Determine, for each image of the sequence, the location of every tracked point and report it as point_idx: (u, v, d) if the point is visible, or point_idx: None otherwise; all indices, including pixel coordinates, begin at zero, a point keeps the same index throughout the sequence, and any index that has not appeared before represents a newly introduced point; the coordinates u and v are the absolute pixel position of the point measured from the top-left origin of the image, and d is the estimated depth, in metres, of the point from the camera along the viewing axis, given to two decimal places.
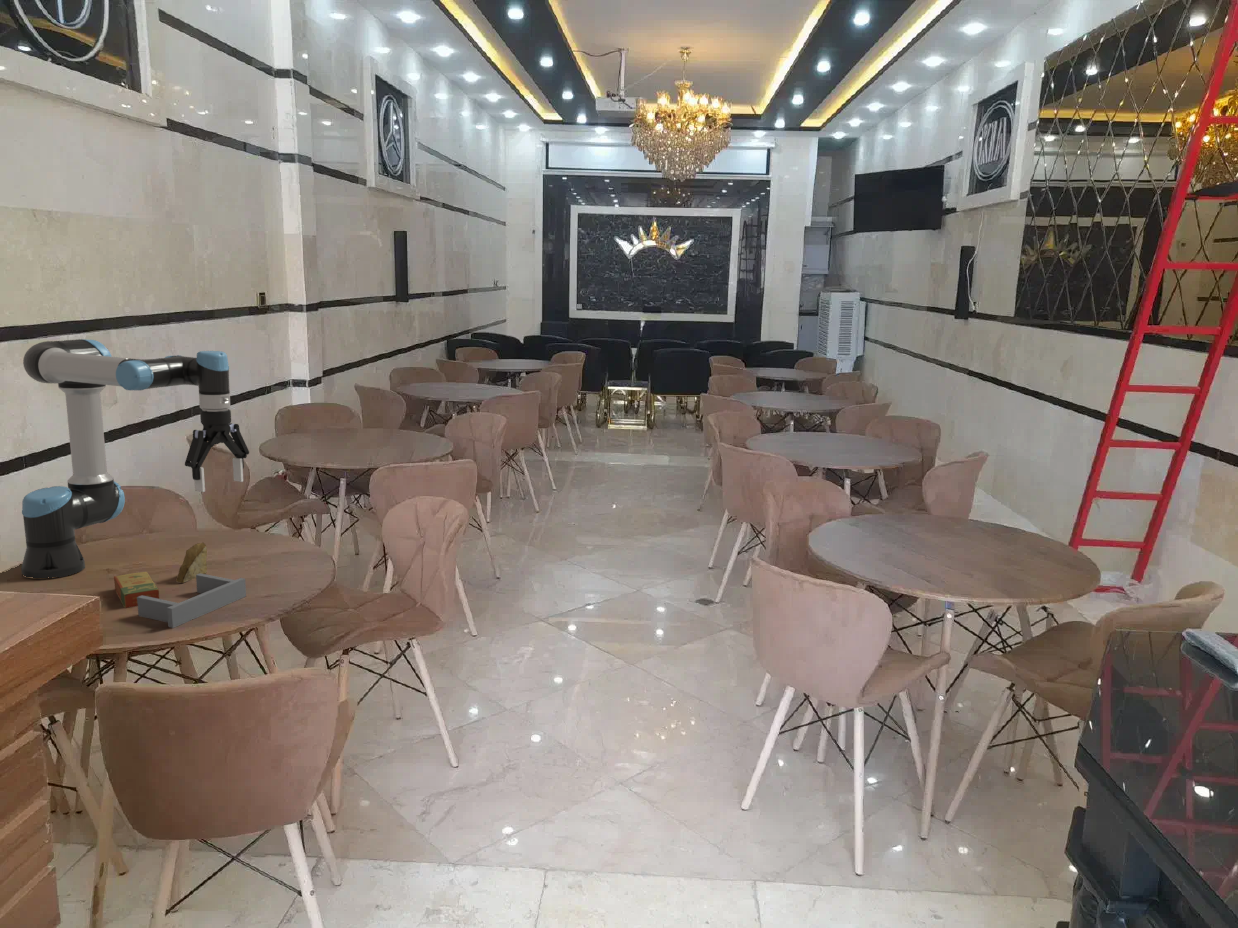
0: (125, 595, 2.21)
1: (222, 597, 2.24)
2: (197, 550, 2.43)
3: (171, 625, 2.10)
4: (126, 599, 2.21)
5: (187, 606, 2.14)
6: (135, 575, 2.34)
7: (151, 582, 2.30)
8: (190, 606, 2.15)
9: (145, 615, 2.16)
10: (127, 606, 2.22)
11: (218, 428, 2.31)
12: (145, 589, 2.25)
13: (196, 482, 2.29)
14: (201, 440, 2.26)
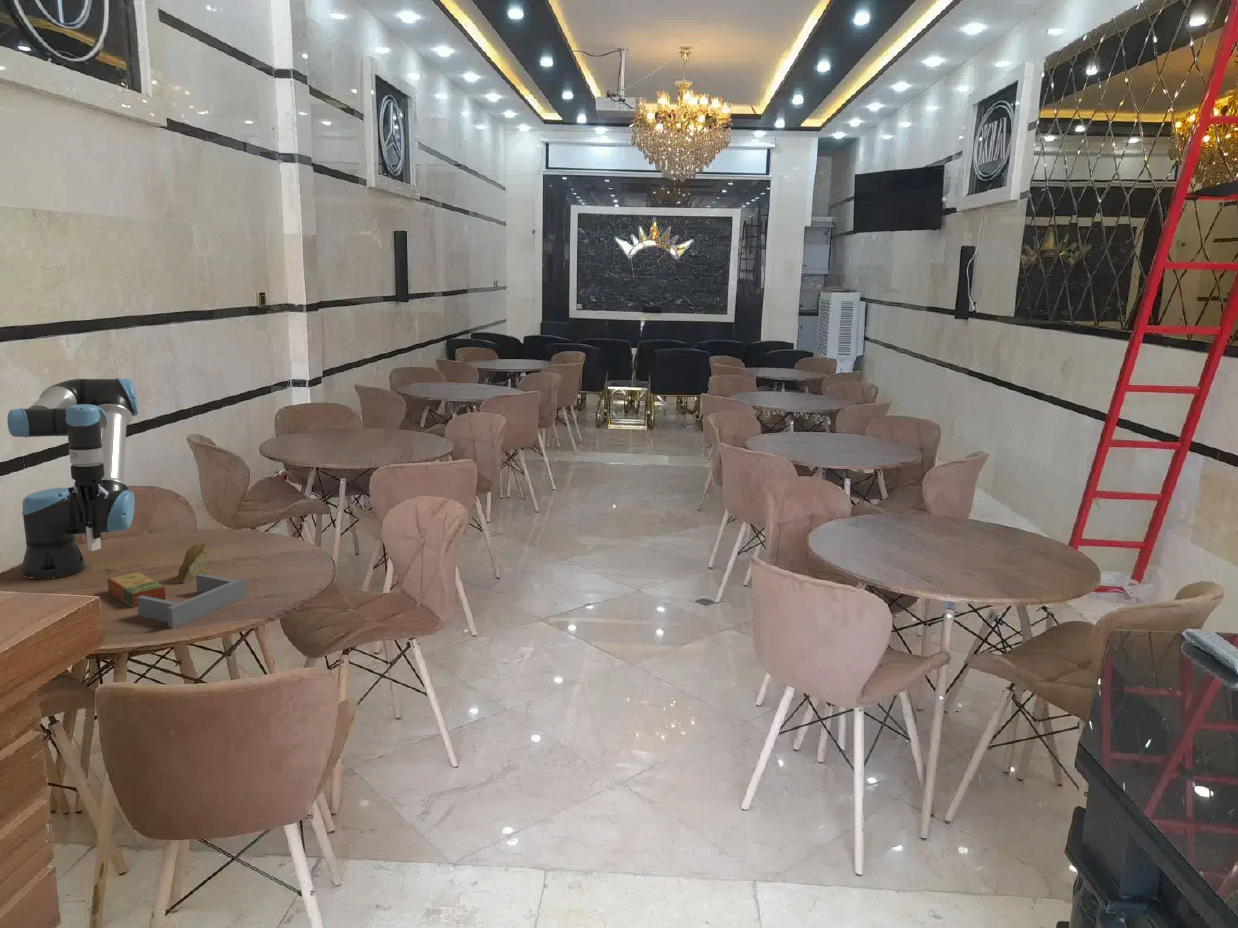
0: (133, 594, 2.22)
1: (222, 597, 2.24)
2: (197, 551, 2.43)
3: (171, 625, 2.10)
4: (135, 598, 2.22)
5: (187, 606, 2.14)
6: (130, 576, 2.33)
7: (152, 581, 2.31)
8: (190, 606, 2.15)
9: (145, 615, 2.16)
10: (136, 605, 2.22)
11: (83, 483, 2.27)
12: (151, 587, 2.26)
13: None
14: (72, 496, 2.29)
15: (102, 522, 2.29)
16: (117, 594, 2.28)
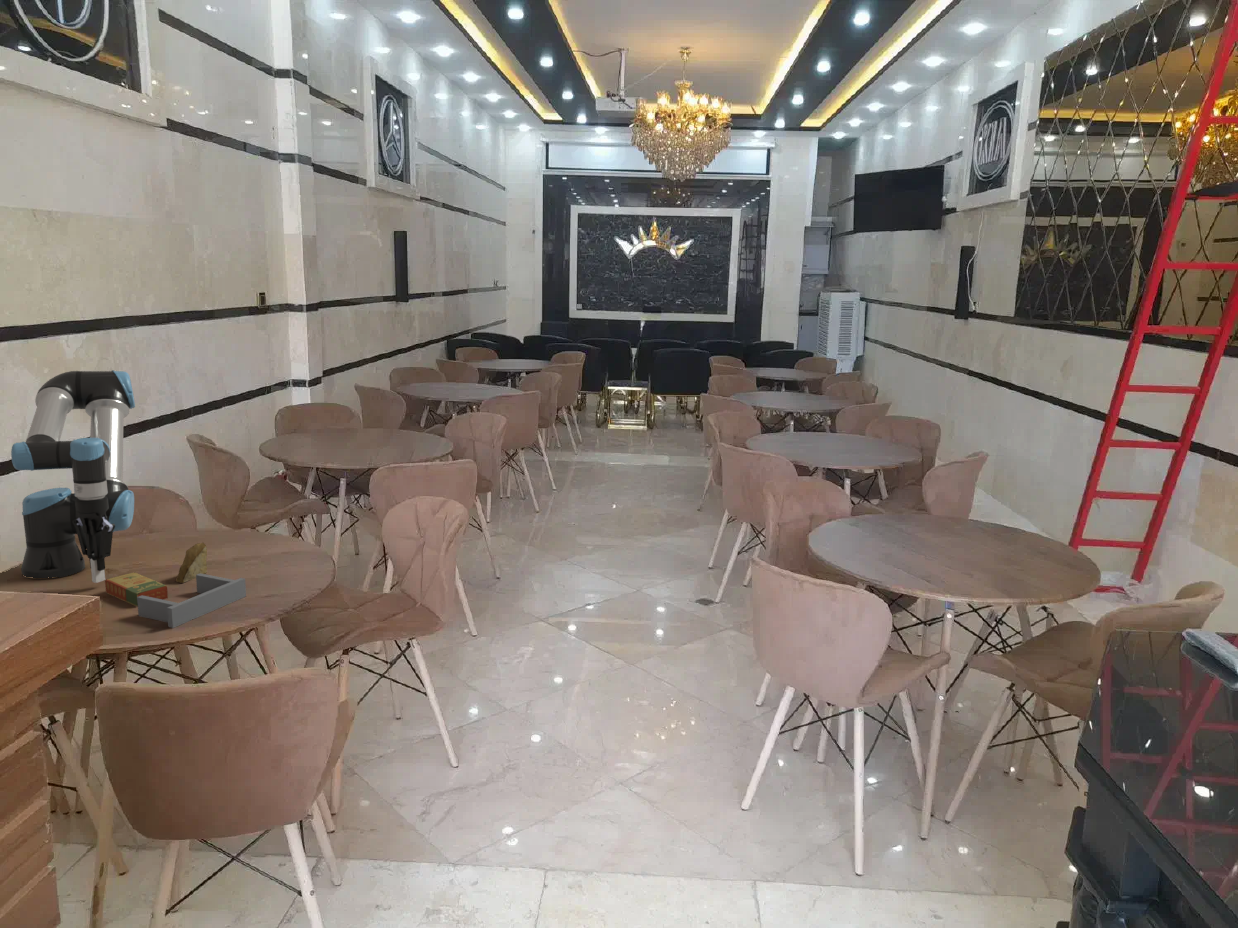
0: (137, 594, 2.22)
1: (222, 597, 2.24)
2: (197, 550, 2.43)
3: (171, 625, 2.10)
4: None
5: (187, 606, 2.14)
6: (128, 576, 2.33)
7: (152, 580, 2.31)
8: (190, 606, 2.15)
9: (145, 615, 2.16)
10: None
11: (88, 515, 2.29)
12: (154, 587, 2.27)
13: None
14: (77, 528, 2.31)
15: (106, 554, 2.31)
16: (117, 595, 2.27)
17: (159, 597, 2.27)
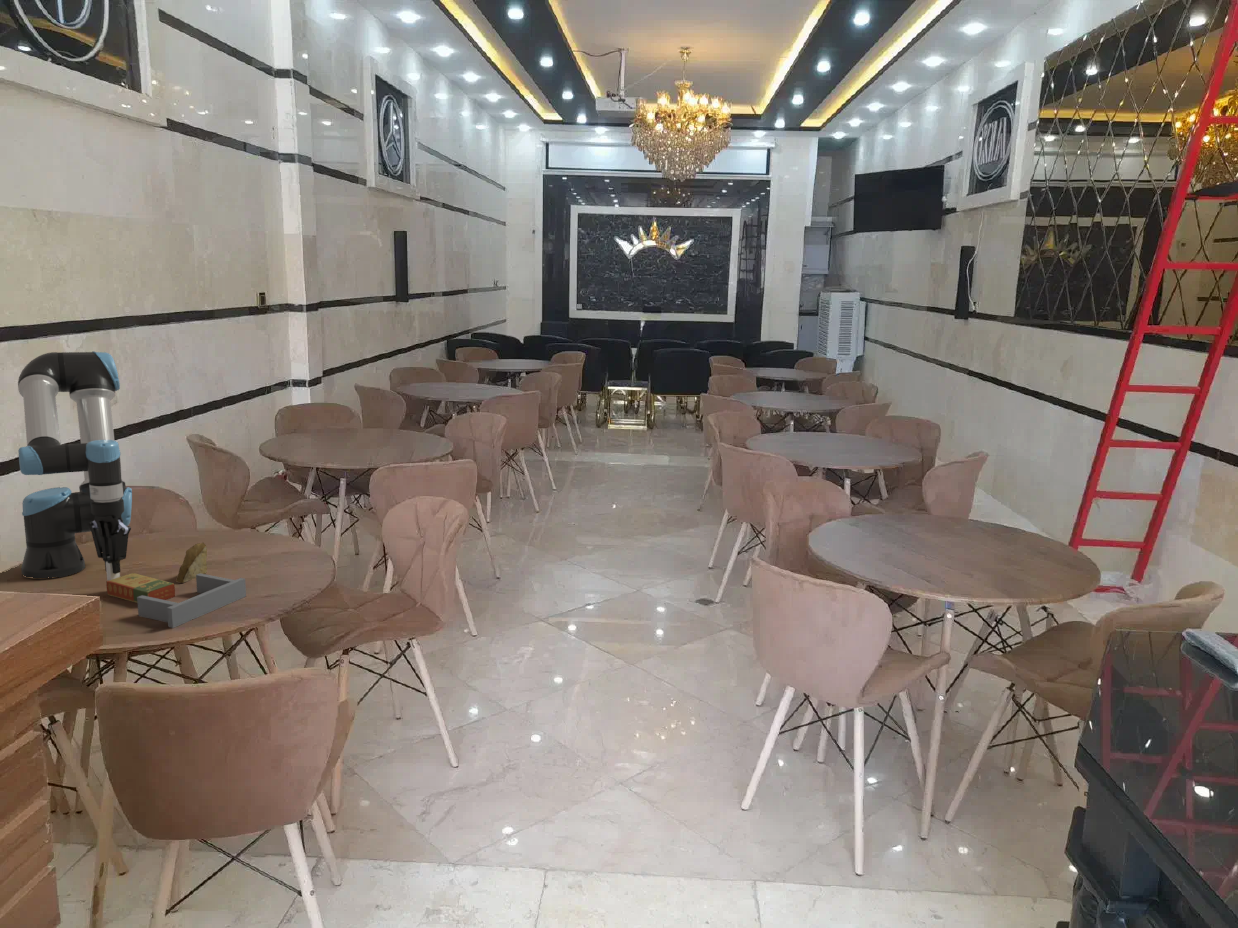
0: (148, 593, 2.23)
1: (222, 597, 2.24)
2: (197, 551, 2.43)
3: (171, 625, 2.10)
4: (149, 596, 2.23)
5: (187, 606, 2.14)
6: (129, 577, 2.32)
7: (156, 579, 2.31)
8: (190, 606, 2.15)
9: (145, 615, 2.16)
10: None
11: (103, 518, 2.27)
12: (162, 585, 2.27)
13: None
14: (92, 531, 2.29)
15: (122, 557, 2.29)
16: (122, 595, 2.27)
17: (167, 595, 2.28)
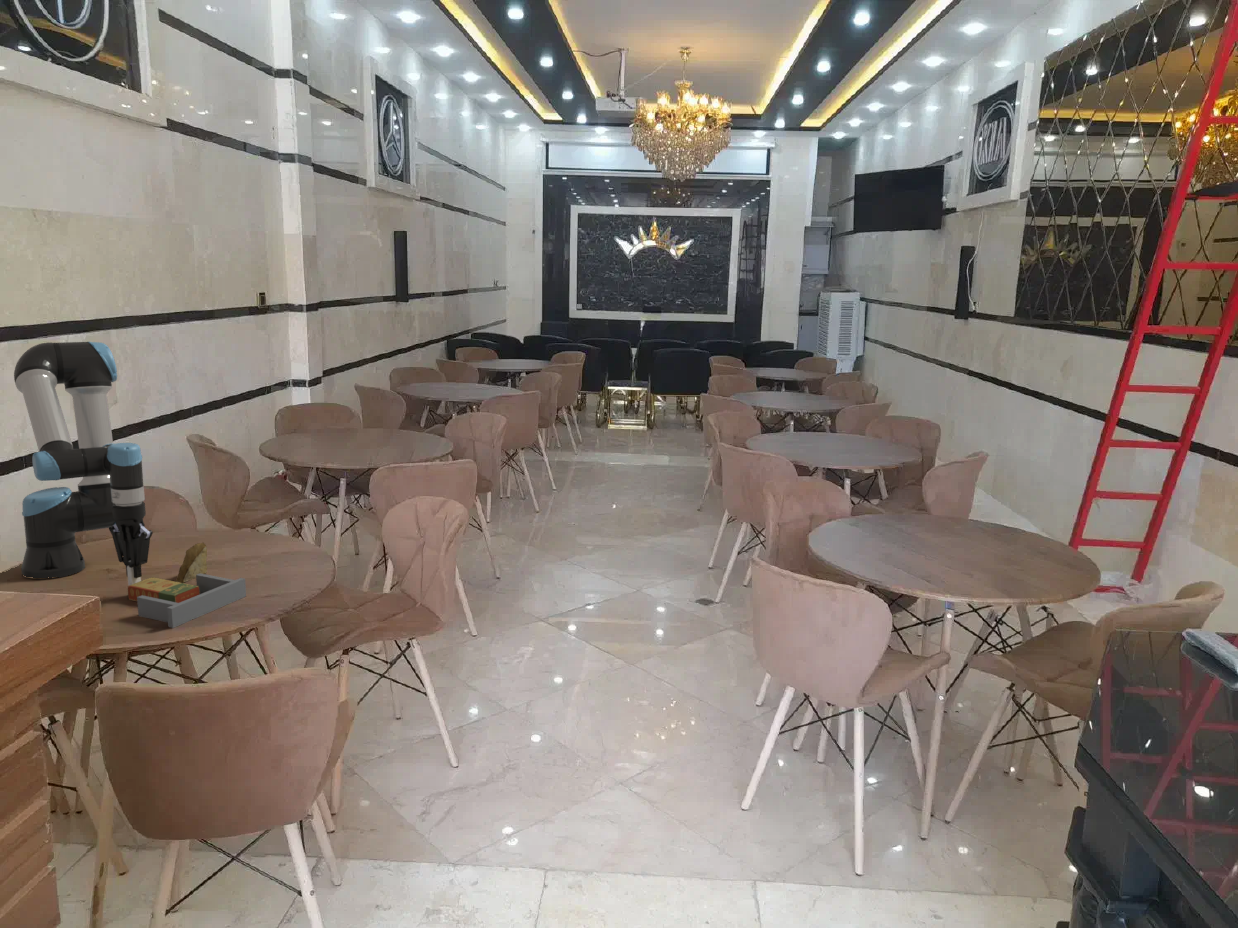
0: (175, 596, 2.22)
1: (222, 597, 2.24)
2: (197, 550, 2.43)
3: (171, 625, 2.10)
4: (176, 600, 2.22)
5: (187, 606, 2.14)
6: (150, 581, 2.30)
7: (179, 583, 2.30)
8: (190, 606, 2.15)
9: (145, 615, 2.16)
10: None
11: (125, 522, 2.25)
12: (187, 588, 2.26)
13: None
14: (113, 535, 2.27)
15: (143, 561, 2.27)
16: None
17: None
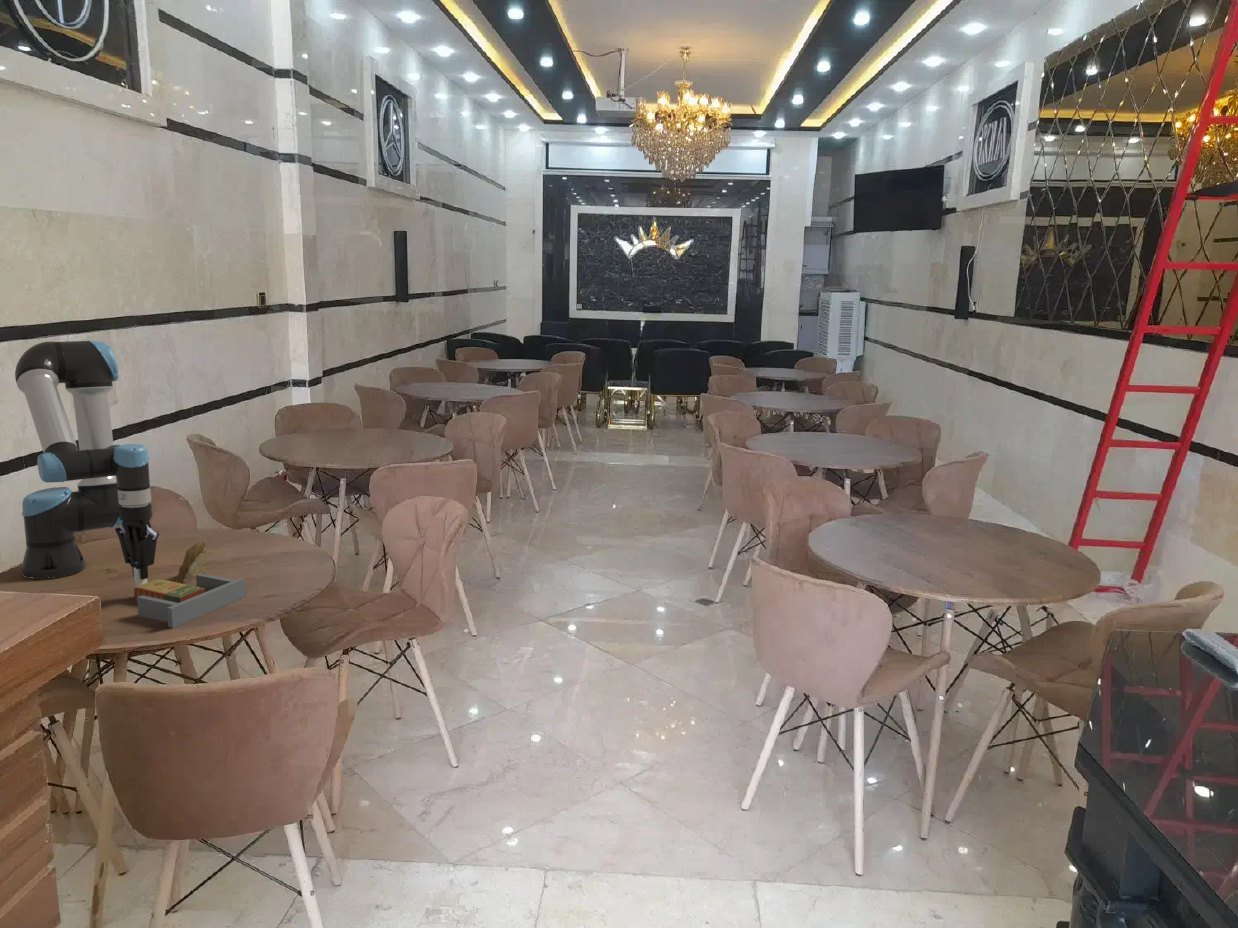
0: (181, 598, 2.21)
1: (222, 597, 2.24)
2: (197, 550, 2.43)
3: (171, 625, 2.10)
4: None
5: (187, 606, 2.14)
6: (156, 583, 2.29)
7: (185, 585, 2.29)
8: (190, 606, 2.15)
9: (145, 615, 2.16)
10: None
11: (131, 523, 2.24)
12: (193, 590, 2.25)
13: None
14: (120, 536, 2.26)
15: (150, 563, 2.26)
16: None
17: None
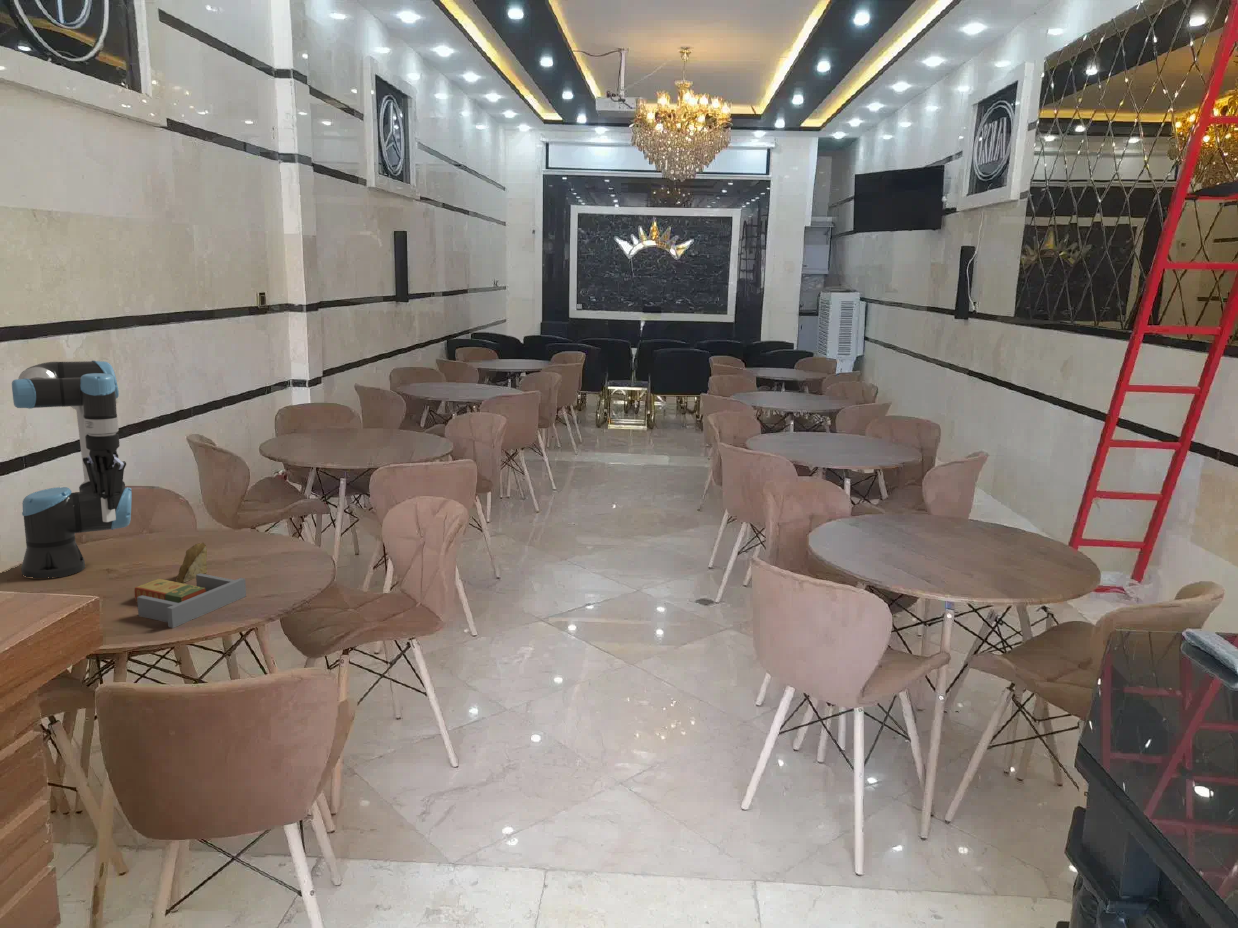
0: (182, 598, 2.21)
1: (222, 597, 2.24)
2: (197, 551, 2.43)
3: (171, 625, 2.10)
4: None
5: (187, 606, 2.14)
6: (157, 582, 2.29)
7: (186, 584, 2.29)
8: (190, 606, 2.15)
9: (145, 615, 2.16)
10: None
11: (98, 453, 2.24)
12: (193, 590, 2.25)
13: None
14: (87, 466, 2.26)
15: (117, 493, 2.26)
16: None
17: None
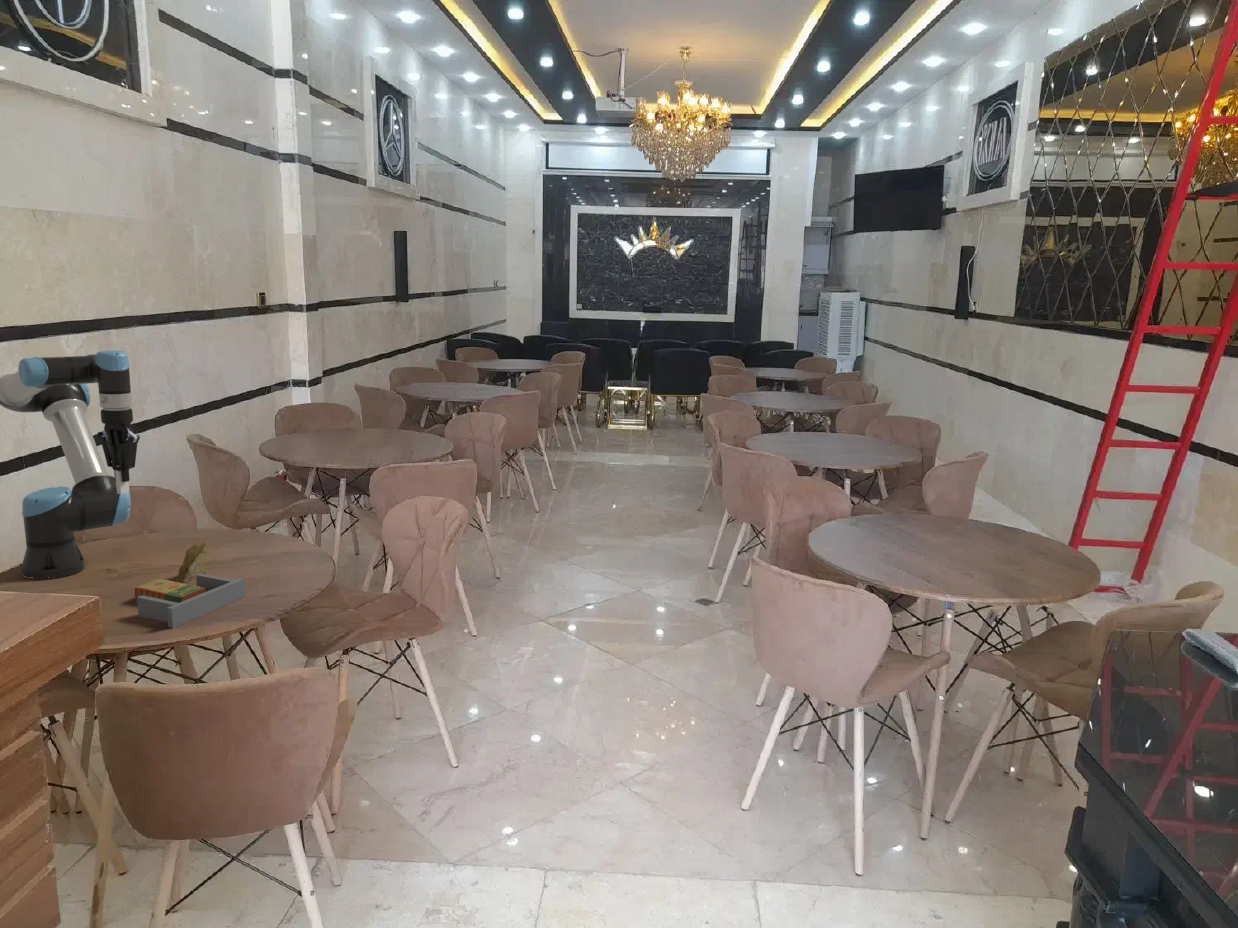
0: (182, 598, 2.21)
1: (222, 597, 2.24)
2: (197, 551, 2.43)
3: (171, 625, 2.10)
4: None
5: (187, 606, 2.14)
6: (157, 582, 2.29)
7: (186, 584, 2.29)
8: (190, 606, 2.15)
9: (145, 615, 2.16)
10: None
11: (113, 427, 2.34)
12: (193, 590, 2.25)
13: None
14: (102, 440, 2.36)
15: (131, 466, 2.36)
16: None
17: None
